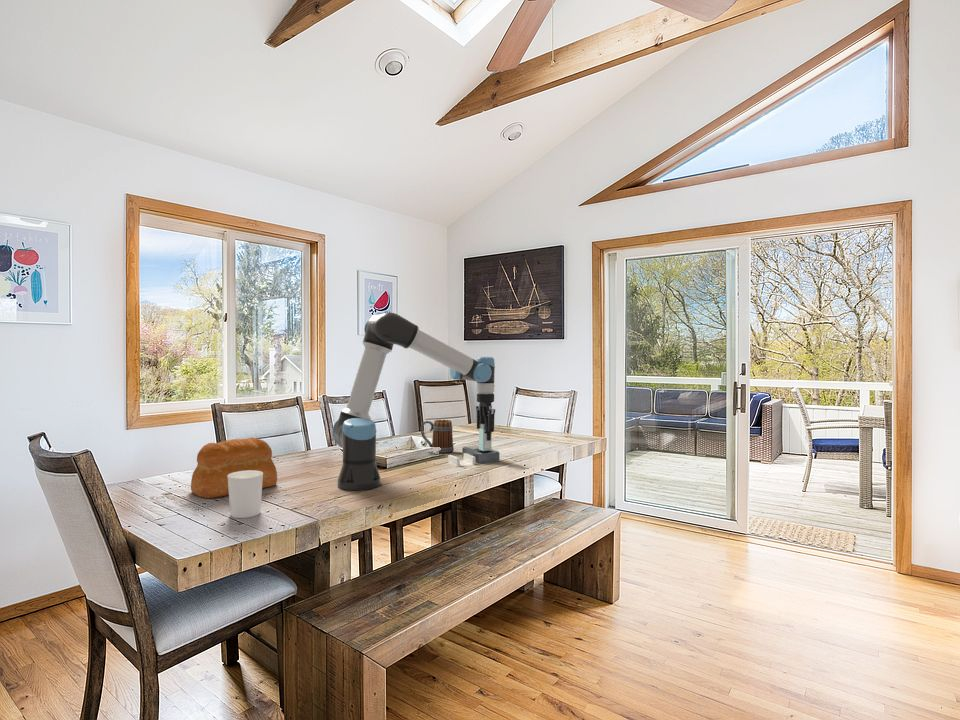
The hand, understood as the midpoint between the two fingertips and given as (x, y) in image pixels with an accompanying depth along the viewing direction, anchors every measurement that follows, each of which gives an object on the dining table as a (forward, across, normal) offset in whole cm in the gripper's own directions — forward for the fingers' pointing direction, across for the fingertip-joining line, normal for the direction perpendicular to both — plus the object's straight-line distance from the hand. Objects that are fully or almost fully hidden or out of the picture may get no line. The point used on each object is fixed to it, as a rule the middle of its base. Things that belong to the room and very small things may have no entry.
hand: (485, 446), depth 234 cm
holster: (+7, 0, +11) cm, 13 cm away
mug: (+7, +29, +10) cm, 32 cm away
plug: (+1, 0, 0) cm, 1 cm away
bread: (+7, 0, +98) cm, 98 cm away
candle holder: (+7, -31, +97) cm, 102 cm away
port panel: (+7, +4, 0) cm, 8 cm away
